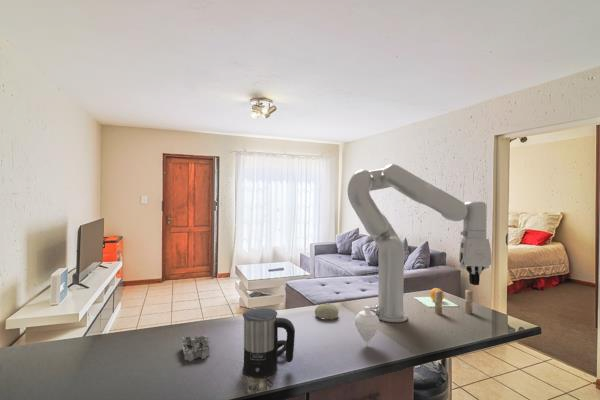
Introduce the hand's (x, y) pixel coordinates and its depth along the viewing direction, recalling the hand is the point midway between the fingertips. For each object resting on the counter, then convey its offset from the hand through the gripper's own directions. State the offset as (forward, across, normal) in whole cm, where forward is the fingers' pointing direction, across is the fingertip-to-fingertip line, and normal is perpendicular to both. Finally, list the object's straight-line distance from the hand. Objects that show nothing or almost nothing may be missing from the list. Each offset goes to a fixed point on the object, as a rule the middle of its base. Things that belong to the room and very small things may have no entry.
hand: (474, 284), depth 119 cm
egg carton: (+16, -97, -15) cm, 99 cm away
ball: (+12, +1, +29) cm, 31 cm away
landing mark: (+15, 0, +28) cm, 32 cm away
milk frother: (+15, -76, -22) cm, 81 cm away
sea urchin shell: (+15, -53, +12) cm, 57 cm away
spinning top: (+15, -45, -14) cm, 50 cm away
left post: (+15, -6, +13) cm, 21 cm away
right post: (+15, +7, +13) cm, 21 cm away
